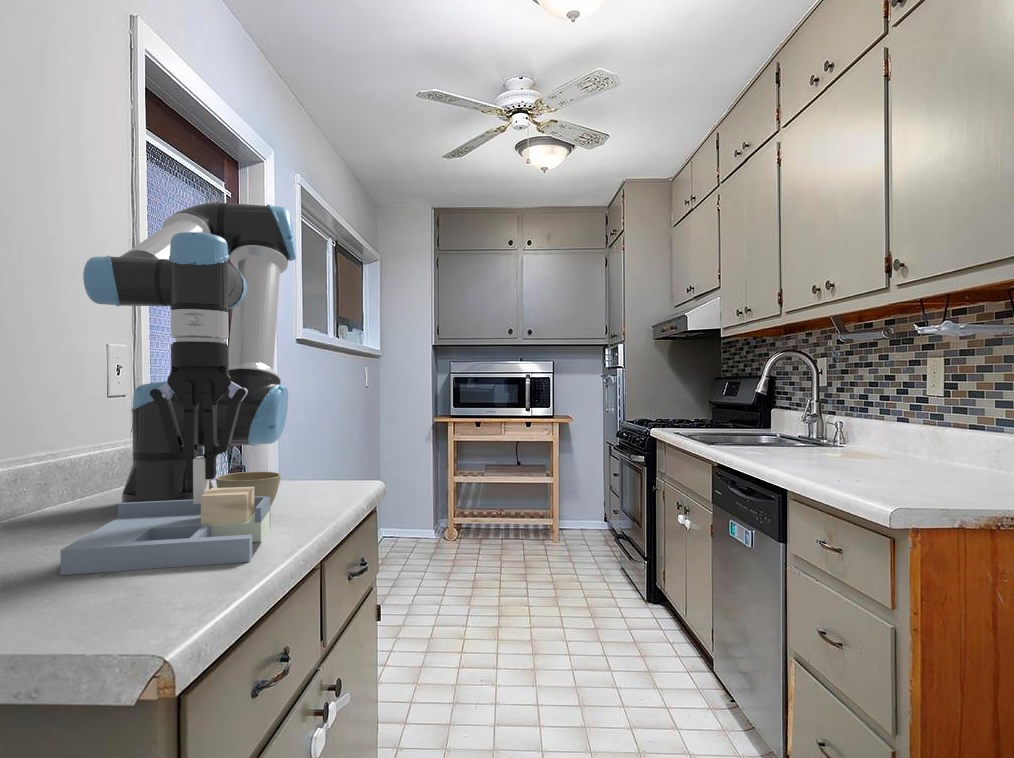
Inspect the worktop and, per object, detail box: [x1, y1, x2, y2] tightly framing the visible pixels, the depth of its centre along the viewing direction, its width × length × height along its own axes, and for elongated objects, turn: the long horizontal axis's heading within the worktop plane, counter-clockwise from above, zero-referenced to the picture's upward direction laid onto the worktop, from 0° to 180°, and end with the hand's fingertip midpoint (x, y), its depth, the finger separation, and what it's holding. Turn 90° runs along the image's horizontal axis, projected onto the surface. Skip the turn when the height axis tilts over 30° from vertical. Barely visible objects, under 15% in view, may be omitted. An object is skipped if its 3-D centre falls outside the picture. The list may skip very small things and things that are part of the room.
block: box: [201, 487, 254, 524], centre depth 87 cm, size 6×6×4 cm
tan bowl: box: [215, 471, 282, 508], centre depth 100 cm, size 10×10×7 cm
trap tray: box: [60, 496, 271, 576], centre depth 82 cm, size 18×21×5 cm
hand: (201, 501), depth 87 cm, fingers closed
